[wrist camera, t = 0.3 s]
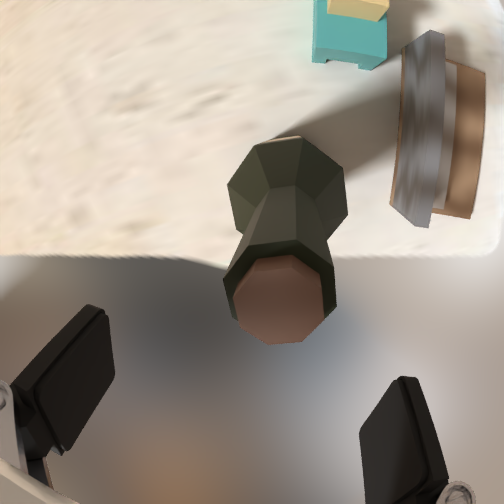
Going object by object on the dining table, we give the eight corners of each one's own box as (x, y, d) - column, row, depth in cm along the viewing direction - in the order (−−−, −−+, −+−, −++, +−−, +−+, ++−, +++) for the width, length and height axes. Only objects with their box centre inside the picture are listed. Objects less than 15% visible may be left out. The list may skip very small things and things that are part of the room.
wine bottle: (332, 144, 34) (473, 203, 6) (315, 210, 37) (358, 423, 10) (263, 127, 34) (148, 116, 7) (248, 194, 37) (133, 371, 10)
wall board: (401, 48, 28) (430, 29, 20) (480, 74, 27) (519, 67, 18) (389, 204, 36) (414, 226, 27) (466, 216, 34) (501, 239, 26)
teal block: (313, -8, 27) (319, -54, 16) (370, 1, 26) (395, -39, 15) (311, 62, 30) (319, 33, 20) (370, 70, 30) (401, 48, 19)
